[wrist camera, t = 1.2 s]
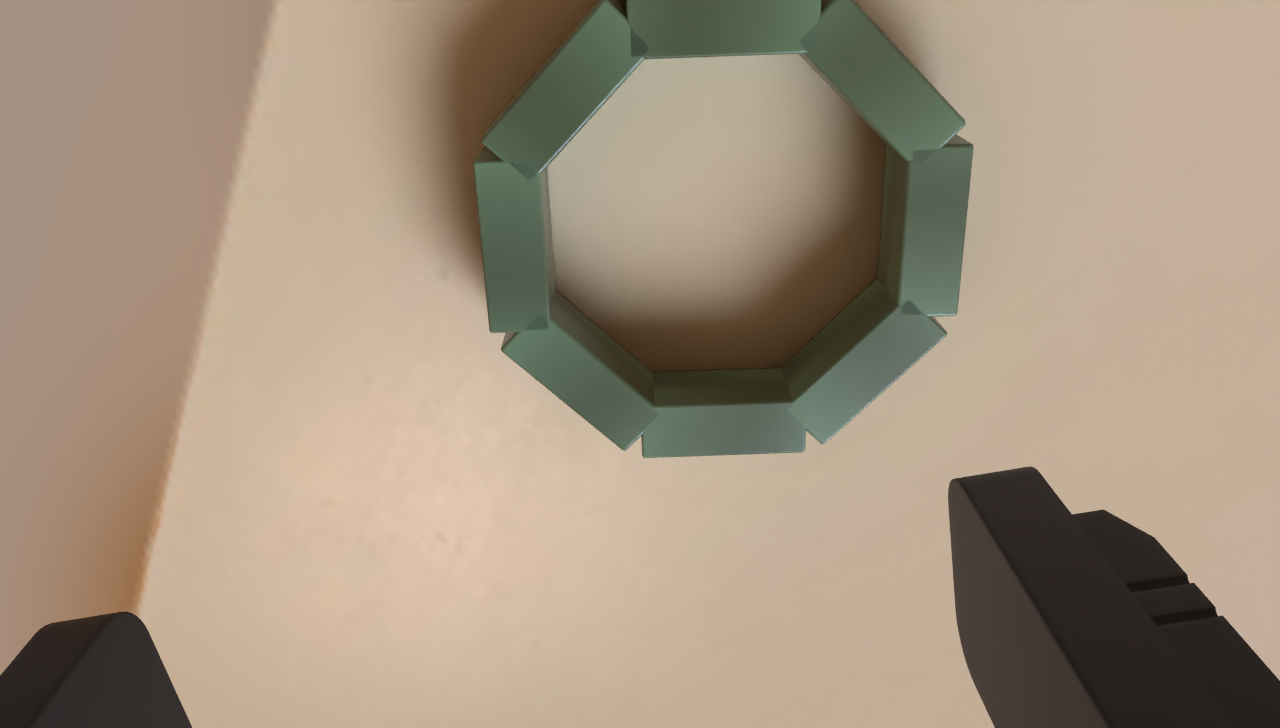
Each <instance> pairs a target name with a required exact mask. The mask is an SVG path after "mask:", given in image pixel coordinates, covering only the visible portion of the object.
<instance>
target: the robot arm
mask: <svg viewBox="0 0 1280 728" xmlns="http://www.w3.org/2000/svg"><path fill="white" fill-rule="evenodd" d="M948 504H949V519H950V534H951V549H952V563H953V578H954V592H955V607H956V618H957V625H958V630H959V636H960V640H961V645H962V649H963V652H964V656H965V659H966V663H967V666H968V669H969V671H970V674H971V677H972V679H973V681H974V684H975V686H976V688H977V690H978V692H979V694H980V697H981V699H982V701H983V703H984V705H985V707H986V709H987V712H988V714H989V716H990V718H991V720H992V722H993V724H994V727H995V728H1280V681H1279V680H1278V678H1277V677H1276V676H1275V675H1274V674H1273V673H1272V672H1271V670H1270V669H1269V668H1268V667H1267V666H1266V665H1265V664H1264V662H1263V661H1262V660H1261V659H1260V658H1259V657H1258V656H1257V654H1256V653H1255V652H1254V651H1253V650H1252V649H1251V648H1250V646H1249V645H1248V644H1247V643H1246V642H1245V641H1244V640H1243V638H1242V637H1241V636H1240V635H1239V634H1238V633H1237V632H1236V630H1235V629H1234V628H1233V627H1232V626H1231V625H1230V624H1229V622H1228V621H1227V620H1226V619H1225V618H1224V617H1223V616H1218V615H1217V613H1216V610H1215V606H1214V605H1213V604H1212V603H1211V602H1210V601H1209V600H1208V598H1207V597H1206V596H1205V595H1204V594H1203V593H1202V591H1201V590H1200V589H1199V588H1198V587H1197V586H1196V585H1195V583H1189V581H1188V578H1187V574H1186V573H1185V572H1184V571H1183V570H1182V569H1181V567H1180V566H1179V565H1178V564H1177V563H1176V562H1175V561H1174V559H1173V558H1172V557H1171V556H1170V555H1169V554H1168V553H1167V551H1166V550H1165V549H1164V548H1163V547H1162V546H1161V545H1160V543H1159V542H1158V541H1157V540H1156V539H1155V538H1154V537H1152V536H1151V535H1149V534H1147V533H1145V532H1143V531H1141V530H1140V529H1138V528H1136V527H1134V526H1132V525H1131V524H1129V523H1127V522H1125V521H1123V520H1121V519H1120V518H1118V517H1116V516H1114V515H1112V514H1111V513H1109V512H1107V511H1105V510H1098V511H1092V512H1086V513H1079V514H1073V515H1072V514H1071V513H1070V512H1069V510H1068V509H1067V508H1066V506H1065V505H1064V504H1063V502H1062V501H1061V500H1060V499H1059V497H1058V496H1057V495H1056V493H1055V492H1054V491H1053V489H1052V488H1051V487H1050V486H1049V484H1048V483H1047V482H1046V480H1045V479H1044V478H1043V476H1042V475H1041V474H1040V473H1039V472H1038V470H1037V469H1035V468H1034V467H1024V468H1018V469H1012V470H1005V471H999V472H993V473H987V474H981V475H975V476H968V477H962V478H956V479H952V480H951V482H950V485H949V491H948ZM0 728H192V726H191V724H190V722H189V720H188V717H187V715H186V713H185V711H184V709H183V706H182V704H181V702H180V700H179V698H178V695H177V693H176V691H175V689H174V687H173V685H172V682H171V680H170V678H169V676H168V674H167V671H166V669H165V667H164V665H163V663H162V660H161V658H160V656H159V654H158V652H157V650H156V647H155V645H154V643H153V641H152V639H151V636H150V634H149V632H148V630H147V628H146V626H145V625H144V624H143V622H142V621H141V620H140V619H139V618H138V617H137V616H136V615H134V614H132V613H129V612H118V613H111V614H106V615H99V616H94V617H87V618H81V619H75V620H68V621H62V622H56V623H51V624H48V625H46V626H44V627H43V628H41V629H40V630H39V631H38V632H37V633H36V634H35V635H34V636H33V637H32V638H31V640H30V641H29V642H28V643H27V644H26V646H25V647H24V648H23V649H22V650H21V652H20V653H19V654H18V655H17V656H16V658H15V659H14V660H13V661H12V662H11V664H10V665H9V666H8V667H7V669H6V670H5V671H4V672H3V673H2V674H1V676H0Z"/></svg>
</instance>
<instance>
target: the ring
mask: <svg viewBox="0 0 1280 728" xmlns="http://www.w3.org/2000/svg"><path fill="white" fill-rule="evenodd" d="M775 54H799V55H800V56H801V57H802V58H803V59H804V60H805V61H806V62H807V63H808V64H809V65H810V66H811V67H812V68H813V69H814V70H815V71H816V72H817V73H818V74H819V75H820V76H821V77H822V78H823V79H824V80H825V81H826V83H827V84H828V85H829V86H830V87H831V88H832V89H833V90H834V91H835V92H836V93H837V94H838V95H839V96H840V97H841V98H842V99H843V100H844V101H845V102H846V103H847V104H848V105H849V106H850V107H851V108H852V109H853V110H854V112H855V113H856V114H857V115H858V116H859V117H860V118H861V119H862V120H863V121H864V122H865V123H866V124H867V125H868V126H869V127H870V128H871V129H872V130H873V131H874V132H875V133H876V134H877V135H878V136H879V137H880V138H881V139H882V140H883V142H884V143H885V144H886V156H885V172H884V187H883V203H882V219H881V235H880V250H879V266H878V278H877V279H876V280H875V281H874V282H873V283H872V284H871V285H869V286H868V287H867V288H866V289H865V290H864V291H863V292H862V293H861V294H860V295H859V296H858V297H857V298H856V299H854V300H853V301H852V302H851V303H850V304H849V305H848V306H847V307H846V308H845V309H844V310H843V311H842V312H841V313H839V314H838V315H837V316H836V317H835V318H834V319H833V320H832V321H831V322H830V323H829V324H828V325H827V326H826V327H824V328H823V329H822V330H821V331H820V332H819V333H818V334H817V335H816V336H815V337H814V338H813V339H812V340H811V341H809V342H808V343H807V344H806V345H805V346H804V347H803V348H802V349H801V350H800V351H799V352H798V353H797V354H795V355H794V356H793V357H792V358H791V359H790V360H789V361H788V362H787V363H786V364H785V365H784V366H783V367H782V368H767V369H739V370H711V371H683V372H656V373H652V372H651V371H650V370H648V369H647V368H646V367H645V366H644V365H643V364H641V363H640V362H639V361H638V360H637V359H636V358H634V357H633V356H632V355H631V354H630V353H629V352H627V351H626V350H625V349H624V348H623V347H622V346H620V345H619V344H618V343H617V342H616V341H615V340H613V339H612V338H611V337H610V336H609V335H608V334H606V333H605V332H604V331H603V330H602V329H600V328H599V327H598V326H597V325H596V324H595V323H593V322H592V321H591V320H590V319H589V318H588V317H586V316H585V315H584V314H583V313H582V312H581V311H579V310H578V309H577V308H576V307H575V306H574V305H572V304H571V303H570V302H569V301H568V300H567V299H565V298H564V297H563V296H562V295H561V294H560V293H558V292H557V291H556V288H555V273H554V259H553V244H552V230H551V215H550V201H549V186H548V172H547V166H548V165H549V164H550V163H551V162H552V161H553V160H554V159H555V158H556V156H557V155H558V154H559V153H560V152H561V151H562V150H563V149H564V148H565V146H566V145H567V144H568V143H569V142H570V141H571V140H572V139H573V138H574V136H575V135H576V134H577V133H578V132H579V131H580V130H581V129H582V128H583V127H584V125H585V124H586V123H587V122H588V121H589V120H590V119H591V118H592V117H593V115H594V114H595V113H596V112H597V111H598V110H599V109H600V108H601V107H602V105H603V104H604V103H605V102H606V101H607V100H608V99H609V98H610V97H611V96H612V94H613V93H614V92H615V91H616V90H617V89H618V88H619V87H620V86H621V84H622V83H623V82H624V81H625V80H626V79H627V78H628V77H629V76H630V75H631V73H632V72H633V71H634V70H635V69H636V68H637V67H638V66H639V65H640V63H641V62H642V61H643V60H644V59H662V58H691V57H719V56H747V55H775ZM965 124H966V123H965V120H964V119H963V118H962V117H961V116H960V115H959V113H958V112H957V111H956V110H955V109H954V108H953V107H952V106H951V105H950V104H949V103H948V102H947V101H946V99H945V98H944V97H943V96H942V95H941V94H940V93H939V92H938V91H937V90H936V89H935V88H934V86H933V85H932V84H931V83H930V82H929V81H928V80H927V79H926V78H925V77H924V76H923V75H922V73H921V72H920V71H919V70H918V69H917V68H916V67H915V66H914V65H913V64H912V63H911V62H910V61H909V59H908V58H907V57H906V56H905V55H904V54H903V53H902V52H901V51H900V50H899V49H898V48H897V46H896V45H895V44H894V43H893V42H892V41H891V40H890V39H889V38H888V37H887V36H886V35H885V33H884V32H883V31H882V30H881V29H880V28H879V27H878V26H877V25H876V24H875V23H874V22H873V21H872V19H871V18H870V17H869V16H868V15H867V14H866V13H865V12H864V11H863V10H862V9H861V8H860V6H859V5H858V4H857V3H856V2H855V1H854V0H626V10H625V9H624V8H623V7H622V6H621V5H620V4H619V3H618V2H617V1H616V0H598V1H597V2H596V4H595V5H594V6H593V7H592V8H591V9H590V10H589V12H588V13H587V14H586V15H585V16H584V17H583V18H582V20H581V21H580V22H579V23H578V24H577V25H576V27H575V28H574V29H573V30H572V31H571V32H570V33H569V35H568V36H567V37H566V38H565V39H564V40H563V42H562V43H561V44H560V45H559V46H558V47H557V48H556V50H555V51H554V52H553V53H552V54H551V55H550V56H549V58H548V59H547V60H546V61H545V62H544V63H543V65H542V66H541V67H540V68H539V69H538V70H537V71H536V73H535V74H534V75H533V76H532V77H531V78H530V79H529V81H528V82H527V83H526V84H525V85H524V86H523V88H522V89H521V90H520V91H519V92H518V93H517V94H516V96H515V97H514V98H513V99H512V100H511V101H510V103H509V104H508V105H507V106H506V107H505V108H504V109H503V111H502V112H501V113H500V114H499V115H498V116H497V117H496V119H495V120H494V121H493V122H492V124H491V125H490V127H489V128H488V129H487V131H486V132H485V134H484V135H483V137H482V139H481V141H482V143H483V144H484V147H483V148H482V150H481V152H480V153H479V155H478V156H477V158H476V159H475V161H474V163H473V166H474V177H475V187H476V197H477V207H478V218H479V228H480V238H481V248H482V259H483V269H484V279H485V289H486V300H487V310H488V320H489V330H490V332H491V333H500V332H506V333H505V336H504V340H503V343H502V347H501V350H502V352H503V353H504V354H506V355H507V356H508V357H509V358H511V359H512V360H513V361H514V362H515V363H517V364H518V365H519V366H520V367H522V368H523V369H524V370H525V371H526V372H528V373H529V374H530V375H531V376H533V377H534V378H535V379H536V380H537V381H539V382H540V383H541V384H542V385H544V386H545V387H546V388H547V389H548V390H550V391H551V392H552V393H553V394H555V395H556V396H557V397H558V398H559V399H561V400H562V401H563V402H564V403H566V404H567V405H568V406H569V407H570V408H572V409H573V410H574V411H575V412H577V413H578V414H579V415H580V416H582V417H583V418H584V419H585V420H586V421H588V422H589V423H590V424H591V425H593V426H594V427H595V428H596V429H597V430H599V431H600V432H601V433H602V434H604V435H605V436H606V437H607V438H608V439H610V440H611V441H612V442H613V443H615V444H616V445H617V446H618V447H619V448H621V449H622V450H624V451H625V450H627V449H628V448H629V447H630V446H631V445H632V444H633V443H634V442H635V441H636V440H637V439H638V438H639V437H640V436H641V437H642V456H643V458H658V457H686V456H714V455H741V454H769V453H797V452H804V451H805V436H806V431H807V432H809V433H810V434H811V435H812V436H813V437H814V438H815V439H816V440H818V441H819V442H820V443H821V444H825V443H826V442H827V441H828V440H829V439H830V438H832V437H833V436H834V435H835V434H836V433H837V432H838V431H839V430H841V429H842V428H843V427H844V426H845V425H846V424H847V423H848V422H850V421H851V420H852V419H853V418H854V417H855V416H856V415H857V414H859V413H860V412H861V411H862V410H863V409H864V408H865V407H866V406H868V405H869V404H870V403H871V402H872V401H873V400H874V399H875V398H877V397H878V396H879V395H880V394H881V393H882V392H883V391H884V390H886V389H887V388H888V387H889V386H890V385H891V384H892V383H893V382H895V381H896V380H897V379H898V378H899V377H900V376H901V375H902V374H904V373H905V372H906V371H907V370H908V369H909V368H910V367H911V366H913V365H914V364H915V363H916V362H917V361H918V360H919V359H920V358H922V357H923V356H924V355H925V354H926V353H927V352H928V351H929V350H931V349H932V348H933V347H934V346H935V345H936V344H937V343H938V342H940V341H941V340H942V339H943V338H944V337H945V336H946V335H947V332H946V331H945V329H944V328H943V327H942V326H941V324H940V323H939V322H938V321H937V320H936V318H935V317H934V316H955V315H956V314H957V311H958V301H959V291H960V280H961V270H962V260H963V249H964V239H965V229H966V219H967V208H968V198H969V188H970V177H971V167H972V157H973V144H971V143H970V142H968V141H966V140H965V139H963V138H961V137H960V136H958V135H957V133H958V132H959V131H960V130H961V129H962V128H963V127H964V126H965Z"/></svg>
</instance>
